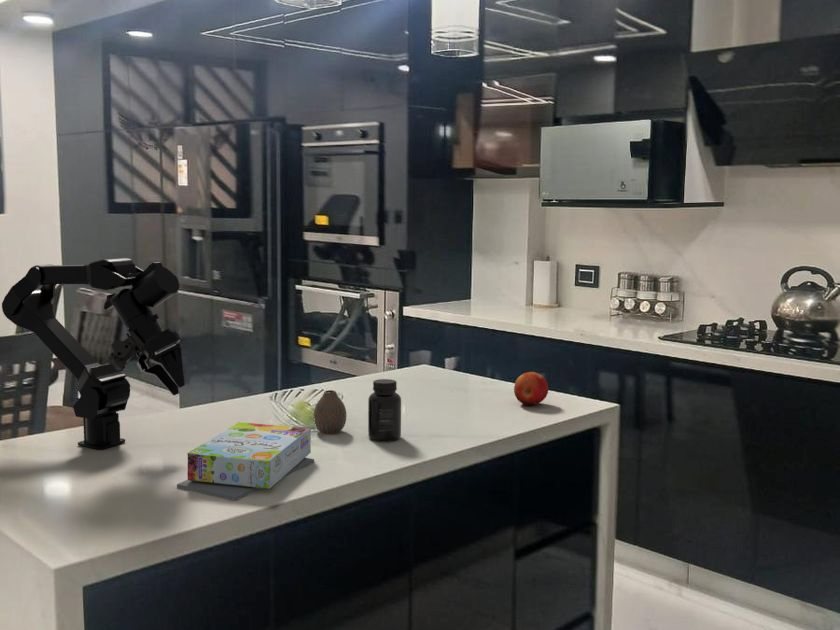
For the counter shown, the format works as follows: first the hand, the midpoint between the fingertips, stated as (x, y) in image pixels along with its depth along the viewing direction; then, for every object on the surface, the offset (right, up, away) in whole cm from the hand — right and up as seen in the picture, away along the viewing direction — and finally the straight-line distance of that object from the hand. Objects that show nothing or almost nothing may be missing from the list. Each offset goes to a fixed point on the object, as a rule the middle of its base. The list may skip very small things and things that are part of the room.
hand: (179, 390), depth 158 cm
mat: (+15, -14, -8) cm, 22 cm away
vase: (+26, -11, +20) cm, 35 cm away
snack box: (+8, -10, -5) cm, 14 cm away
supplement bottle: (+38, -11, +16) cm, 43 cm away
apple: (+72, -8, +47) cm, 87 cm away
